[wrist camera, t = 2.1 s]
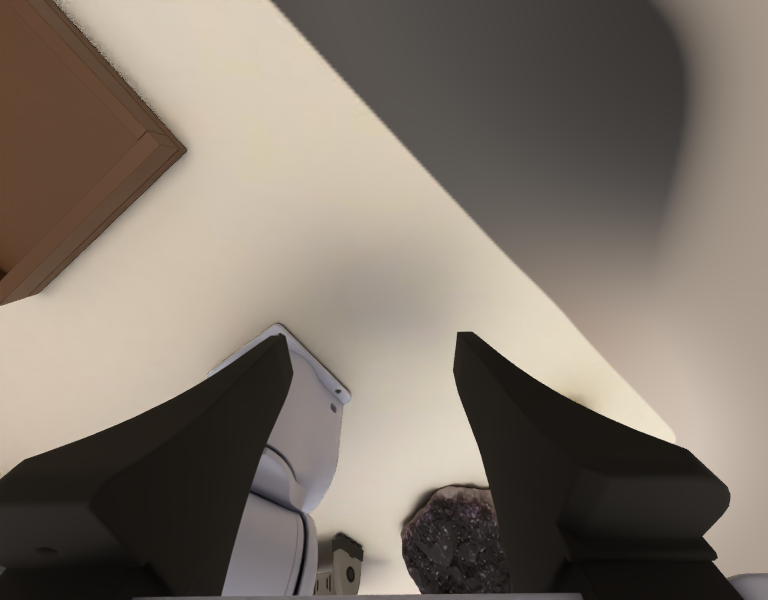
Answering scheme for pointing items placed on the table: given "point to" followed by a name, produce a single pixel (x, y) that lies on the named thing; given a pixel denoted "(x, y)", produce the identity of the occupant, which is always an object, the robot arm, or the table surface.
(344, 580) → the figurine
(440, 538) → the crystal cluster
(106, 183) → the tray
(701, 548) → the robot arm
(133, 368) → the table surface
